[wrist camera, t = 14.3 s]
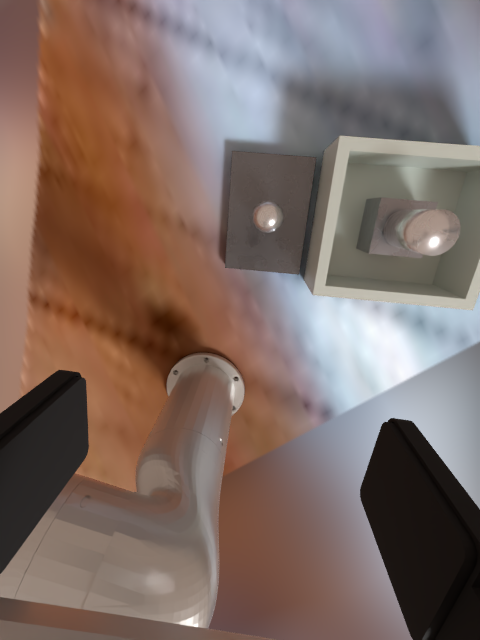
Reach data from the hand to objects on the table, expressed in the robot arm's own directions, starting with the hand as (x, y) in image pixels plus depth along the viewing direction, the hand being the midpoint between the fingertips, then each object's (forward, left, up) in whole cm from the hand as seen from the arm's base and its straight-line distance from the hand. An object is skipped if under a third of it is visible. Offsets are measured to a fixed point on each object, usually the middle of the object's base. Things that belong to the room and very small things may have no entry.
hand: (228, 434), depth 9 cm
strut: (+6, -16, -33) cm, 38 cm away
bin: (+6, -16, -34) cm, 38 cm away
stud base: (+6, -1, -34) cm, 35 cm away
